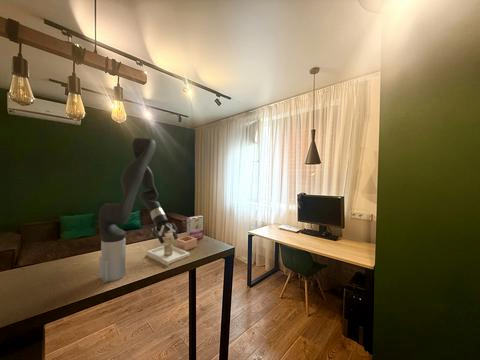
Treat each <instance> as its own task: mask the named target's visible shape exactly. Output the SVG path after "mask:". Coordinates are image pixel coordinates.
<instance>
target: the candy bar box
mask: <svg viewBox="0 0 480 360" xmlns="http://www.w3.org/2000/svg"><path fill="white" fill-rule="evenodd" d="M187 235H188V236H191V237H194V238H197V240H199V239H204V216H203V215H195V216H189V217H186V236H187Z"/></svg>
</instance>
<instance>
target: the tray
mask: <svg viewBox="0 0 480 360" xmlns="http://www.w3.org/2000/svg"><path fill="white" fill-rule="evenodd" d="M146 253H147V255H146V256H147V257H150V259H151V258H152V259H153V260H155V261H157V262H159V263H161V264H163V265H164V266H166V267H169V266H172V265H171V264H172V263H175V262H177V261H180V260H182V259H184V258H187V257H190V255H191V253H190V252H189V251H187V250H186V251H184V250H182V249H179V248H177V247H175V246H174V245H173V248H172V255H171V256H164V245H162V246H159V247H156V248H153V249H149V250H147V252H146Z"/></svg>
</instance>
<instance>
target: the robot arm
mask: <svg viewBox="0 0 480 360" xmlns="http://www.w3.org/2000/svg"><path fill="white" fill-rule="evenodd" d="M156 145H157V144H156V142H155V140H154V139H152V138H146V137H145V138H144V137H135V138H134V139H133V140H132V151H133V155H134V159H135V160H132V161H131V162H130V163H129V164H127V165H126V166H125V168H124V170H123V172H122V174H121V176H120V184H121V187H122V189H123V198H122V200H121V202H120V203H118V202H117V203H116V202H115V203H114V202H112V203H111V202H107V203H104V204H103V205H101V207H100V209H99V212H98V225H99V226H98V230H99V235H100V241H101V242H100V243H101V244H100V249H101V250H100V254H101V256H99V257H98V258H99V259H98V261H99V264H98V265H99V267H98V268H99V269H98V270H99V271H98V278H99V279H100V280H101V281H102V282H103V283H104V284H105V283H108V282H114V281H115V282H116V281H118V280H120V279H122V278H123V277H125V275H126V252H127V251H126V247H127V246H126V245H127V244H126V241H127V239H126V237H127V234H126V233H127V232H126V231H125V230H123V229H121V228H119V227H118V226H117V225H125V224H126V223H127V222H128V221H129V219H130V217H131V214H132V210H133V207H134V203H135V199H136V196H137V193H138V191H139V188H140V186H141V187H142V188H143V189H146V190H144V191H142V192H140V193H139V200H140V202H141V203H142V204H144V206H145V207H146V208H147V209H148V211H149V214H150V216H151V217H150V218H151V220H152V222H153V225H154V226H152V228H151V229H150V231H151V233H152V237H153V239H158V241H159V243H160V244H161V245H163V244H164V239H165V238H164V237H163V235H162V234H165V233H169V232H170V233H173V239H174V240H176V239H177V238H179V237H178V234H177V232H178V231H179V229H178V227H177V225H176V224H175V222H171V223H169V220H168V217H167V215H166V213H165V211H164V210H163V208H162V206H161V204H160V202H159V201H157V200H158V199H159V193H158V190H157V188H156V186H155V180H154V174H153V172H152V170H151V168H150V166H149V163H150V161H151V160H152V157H153V156H154V154H155V151H156V148H157V147H156ZM147 189H150V190H147ZM157 231H158V232H157Z"/></svg>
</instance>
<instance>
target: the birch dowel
mask: <svg viewBox="0 0 480 360" xmlns="http://www.w3.org/2000/svg"><path fill="white" fill-rule="evenodd" d="M163 239H164V243H163V244H164V245H163V246H164V256H171V255H172V248H173V246H174V245H173V243H174V240H173V239H174V237H173V233H170V232H165V233H164V238H163Z"/></svg>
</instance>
